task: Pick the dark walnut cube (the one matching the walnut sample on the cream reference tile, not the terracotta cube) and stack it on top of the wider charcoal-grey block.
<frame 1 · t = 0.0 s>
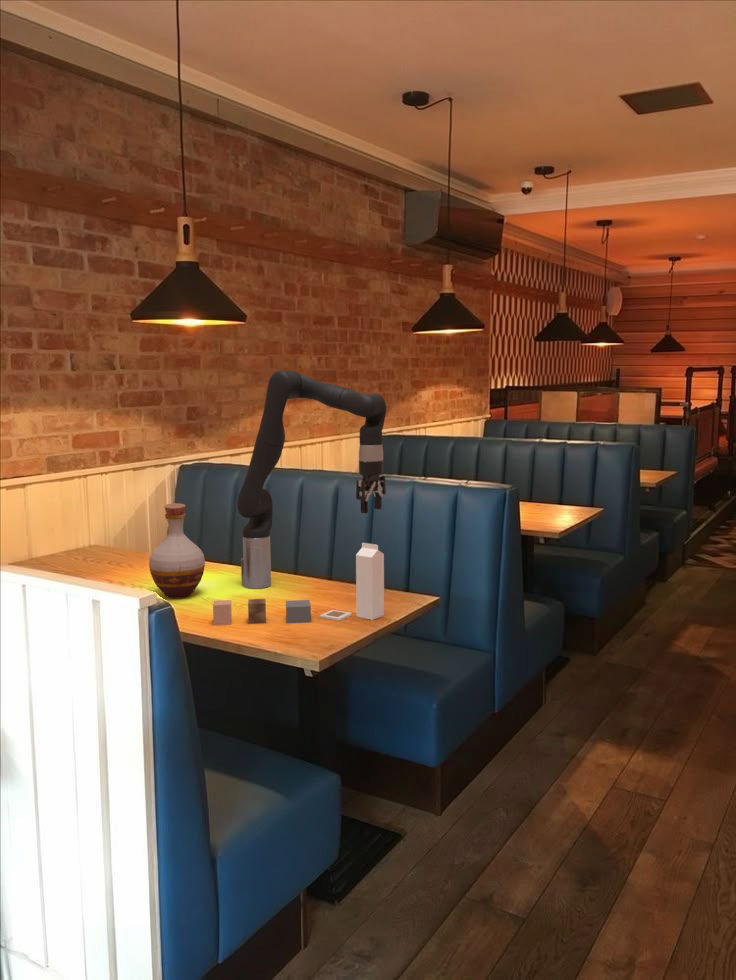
hand: (371, 511, 259), 29 cm above the table, fingers open, 8 cm apart
milk: (370, 616, 248), on the table
terracotta block: (222, 622, 243), on the table
reference tile: (335, 616, 248), on the table
walnut block: (257, 621, 244), on the table
jug: (177, 595, 274), on the table
charcoal block: (298, 619, 245), on the table
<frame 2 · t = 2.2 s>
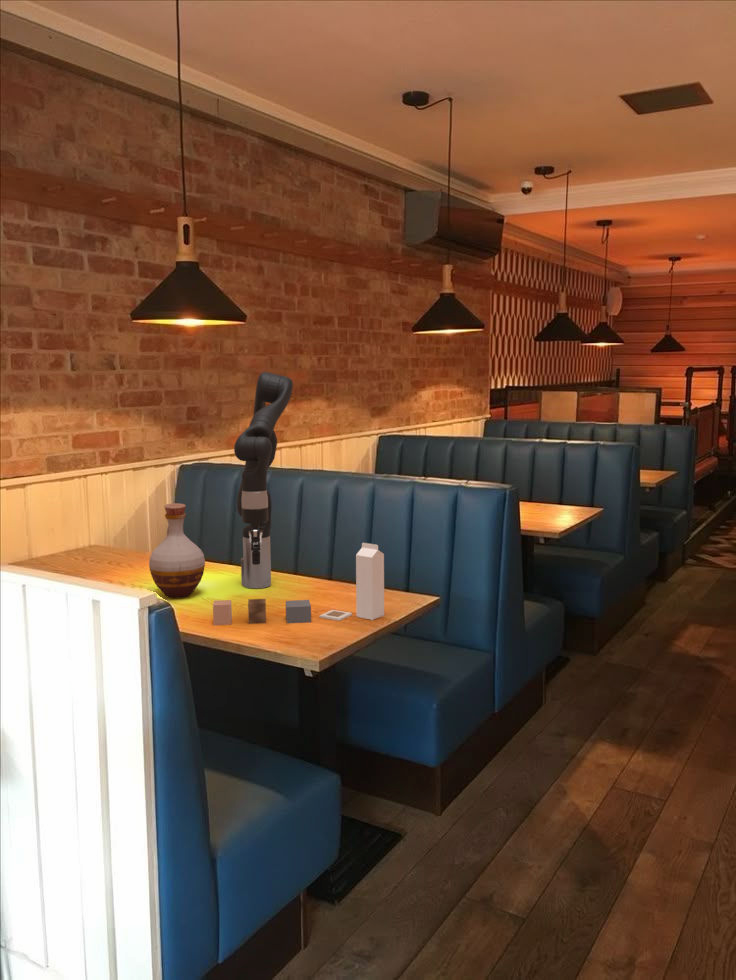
hand: (256, 561, 241), 18 cm above the table, fingers open, 8 cm apart
nothing on the table moved.
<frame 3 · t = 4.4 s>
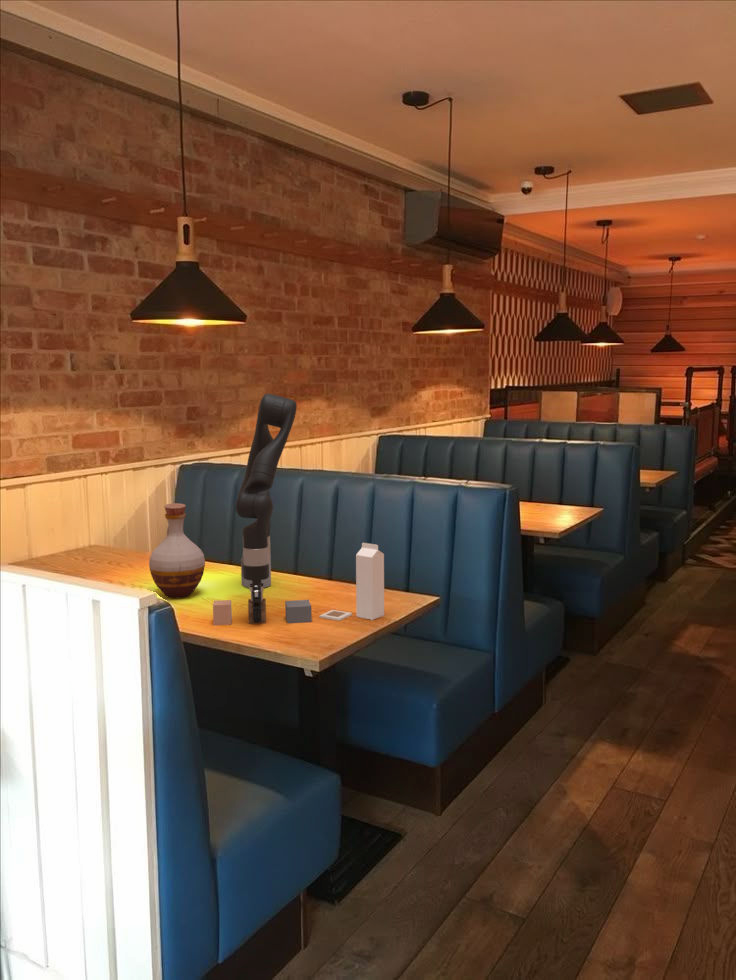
hand: (257, 618, 244), 1 cm above the table, fingers closed on walnut block, 5 cm apart
walnut block: (257, 621, 244), on the table, touching gripper
everything else where it was.
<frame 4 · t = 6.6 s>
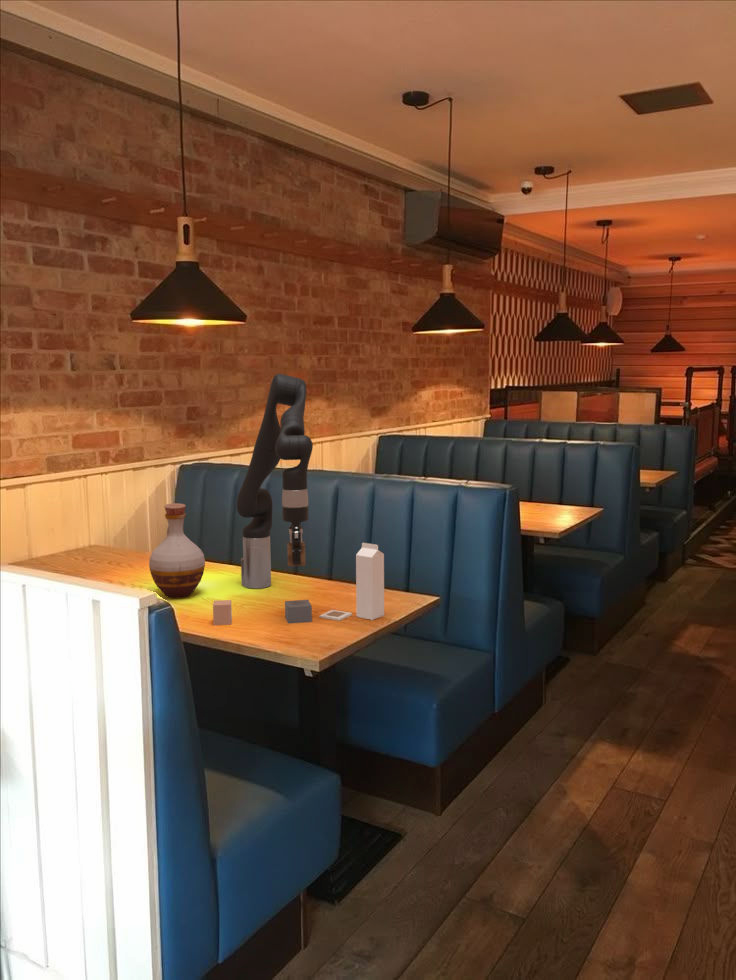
hand: (296, 561, 243), 17 cm above the table, fingers closed on walnut block, 5 cm apart
walnut block: (296, 564, 243), point 17 cm above the table, touching gripper
everything else where it was.
when the fingers open (7 cm above the table, at t = 9.0 s): walnut block drops 1 cm, resting on charcoal block.
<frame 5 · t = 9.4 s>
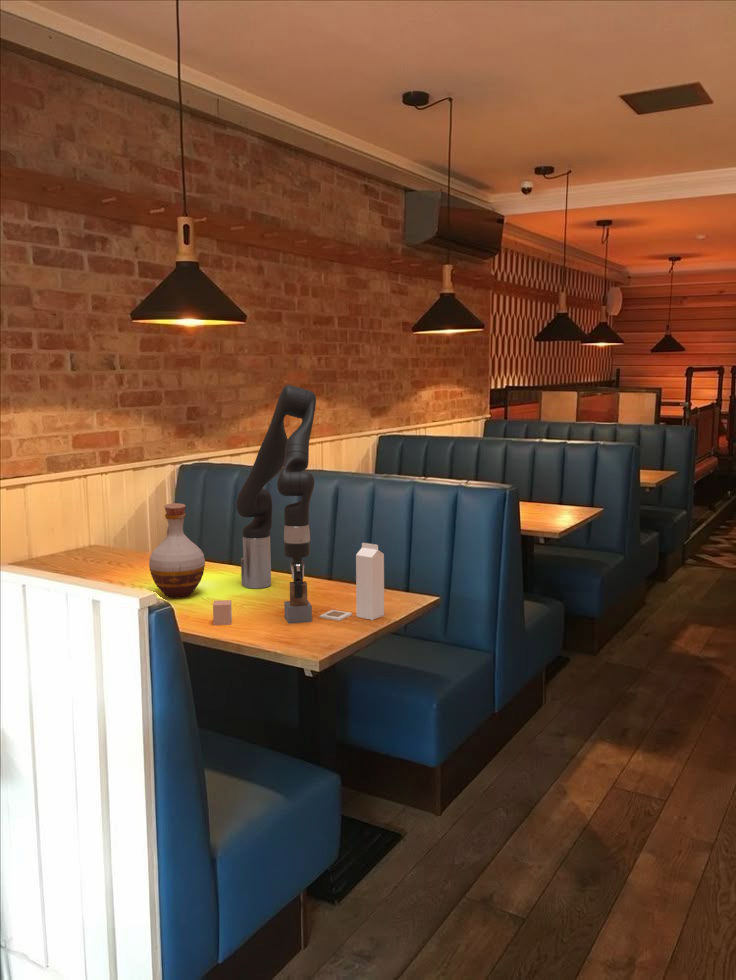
hand: (297, 594, 244), 8 cm above the table, fingers open, 8 cm apart
walnut block: (298, 603, 245), point 5 cm above the table, touching charcoal block
charcoal block: (298, 620, 245), on the table, touching walnut block
everything else where it was.
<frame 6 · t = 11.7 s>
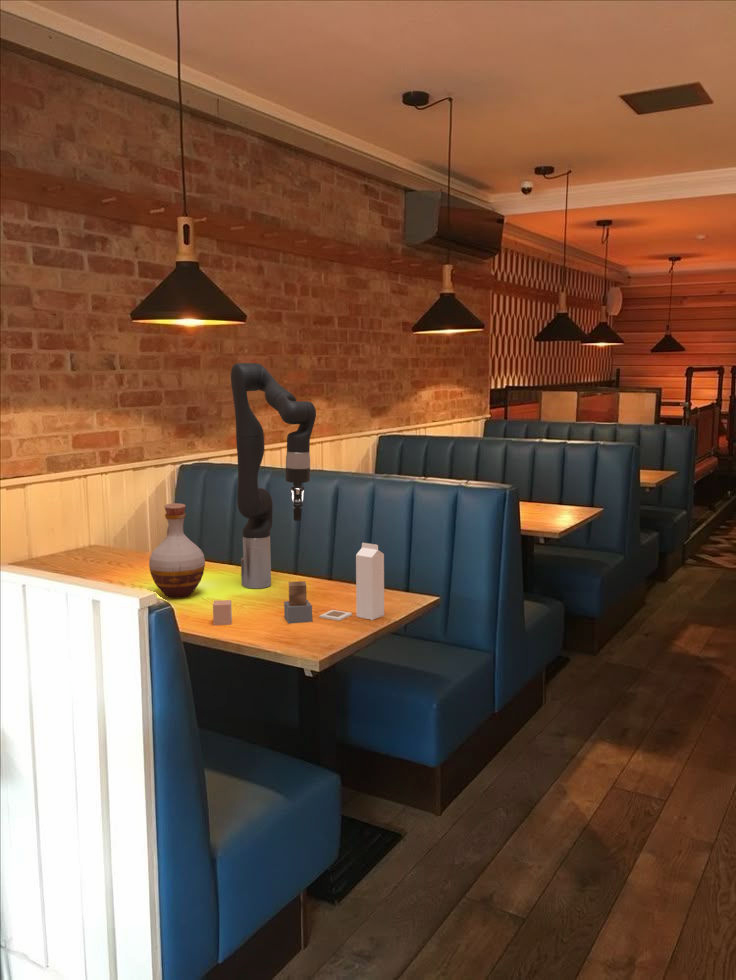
hand: (297, 517, 259), 27 cm above the table, fingers open, 8 cm apart
nothing on the table moved.
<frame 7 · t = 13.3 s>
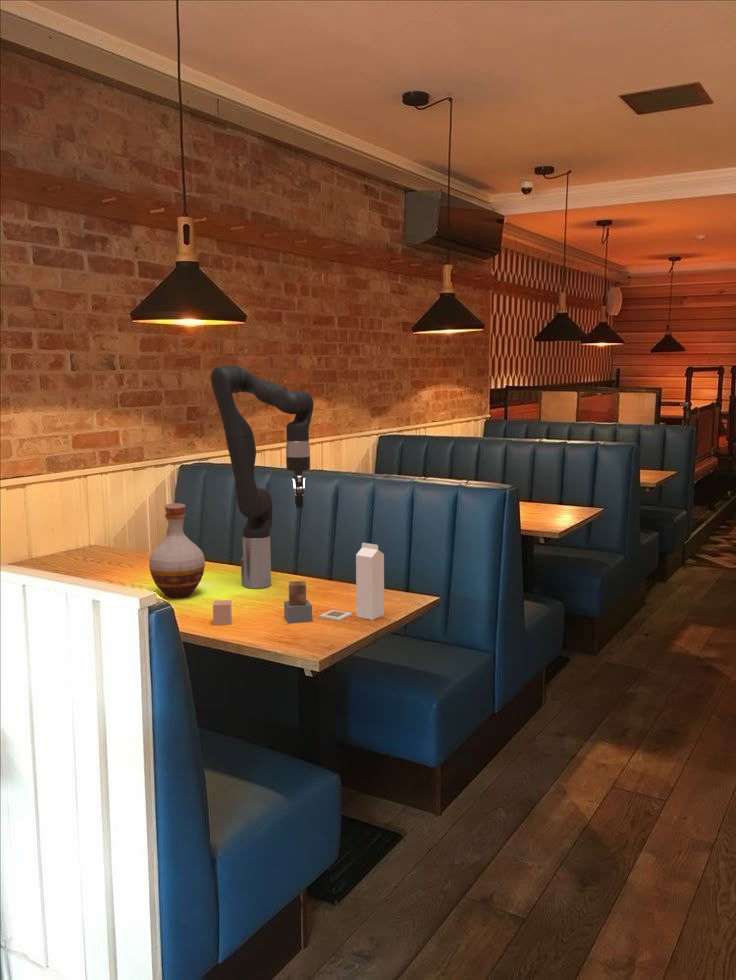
hand: (299, 505, 265), 30 cm above the table, fingers open, 8 cm apart
walnut block: (297, 603, 245), point 5 cm above the table
charcoal block: (298, 619, 245), on the table
everything else where it was.
at the end: walnut block 0.1 cm off-centre on the charcoal block, point 5.0 cm above the charcoal block's base; walnut block tilted 0°; the gripper is holding nothing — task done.
